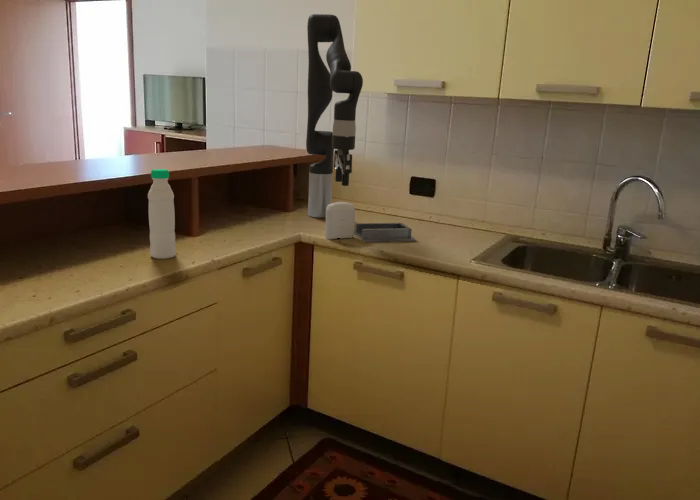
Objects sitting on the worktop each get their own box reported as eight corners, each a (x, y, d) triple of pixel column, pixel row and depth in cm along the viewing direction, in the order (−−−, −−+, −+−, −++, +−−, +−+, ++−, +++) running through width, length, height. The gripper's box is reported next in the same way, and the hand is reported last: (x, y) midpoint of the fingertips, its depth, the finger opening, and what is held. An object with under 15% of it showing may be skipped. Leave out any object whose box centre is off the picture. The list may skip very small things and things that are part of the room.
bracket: (353, 232, 208) (354, 222, 207) (400, 231, 213) (401, 221, 212) (364, 242, 195) (365, 231, 194) (415, 241, 200) (415, 230, 199)
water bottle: (153, 260, 164) (149, 171, 157) (148, 253, 170) (144, 168, 163) (178, 258, 167) (175, 170, 161) (173, 251, 173) (170, 167, 167)
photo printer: (327, 240, 196) (329, 203, 192) (323, 237, 199) (324, 201, 196) (355, 238, 200) (357, 202, 197) (350, 235, 204) (352, 200, 200)
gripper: (327, 132, 196) (326, 180, 200) (338, 135, 183) (336, 187, 187) (349, 133, 198) (347, 180, 202) (361, 136, 185) (358, 187, 189)
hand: (341, 183), depth 195 cm, fingers open, 8 cm apart
